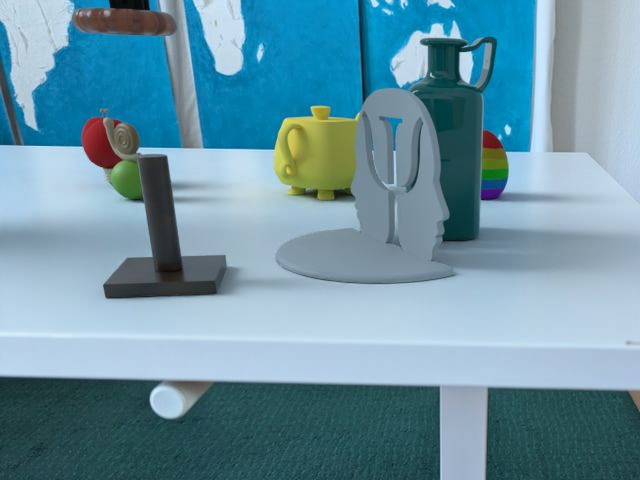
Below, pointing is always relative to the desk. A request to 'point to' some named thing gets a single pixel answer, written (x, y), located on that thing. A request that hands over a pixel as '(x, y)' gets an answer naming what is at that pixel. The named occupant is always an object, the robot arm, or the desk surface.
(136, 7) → the robot arm
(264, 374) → the desk surface
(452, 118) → the pitcher
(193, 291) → the post
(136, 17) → the ring
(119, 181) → the snail figurine
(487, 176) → the decorative egg
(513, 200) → the desk surface
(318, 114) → the teapot
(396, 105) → the ornament
